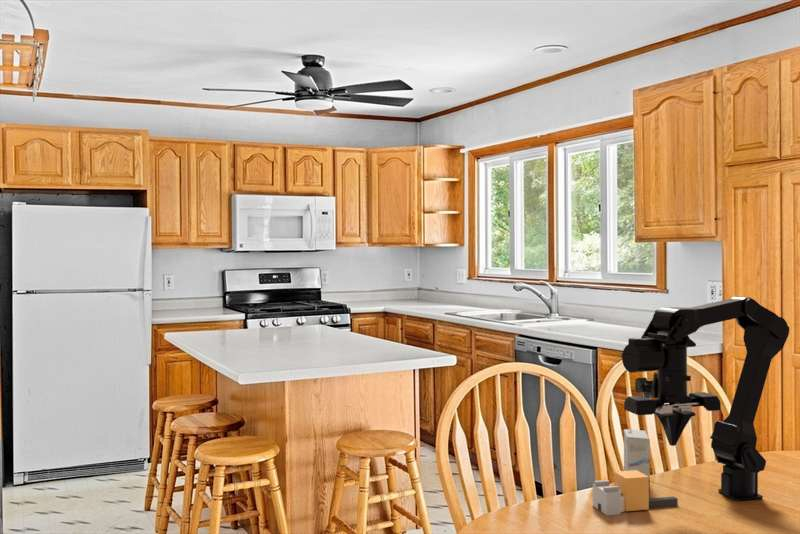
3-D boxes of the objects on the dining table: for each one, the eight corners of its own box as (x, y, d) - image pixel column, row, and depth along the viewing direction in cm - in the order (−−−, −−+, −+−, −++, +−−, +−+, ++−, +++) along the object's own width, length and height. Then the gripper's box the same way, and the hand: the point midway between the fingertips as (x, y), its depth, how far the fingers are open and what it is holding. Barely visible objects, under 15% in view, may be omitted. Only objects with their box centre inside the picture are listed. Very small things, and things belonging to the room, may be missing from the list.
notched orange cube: (636, 501, 159) (636, 470, 159) (648, 509, 154) (648, 476, 154) (614, 503, 158) (614, 471, 158) (625, 511, 153) (625, 478, 153)
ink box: (650, 492, 166) (650, 438, 165) (627, 491, 167) (627, 437, 166) (645, 481, 174) (646, 429, 174) (623, 479, 175) (623, 428, 175)
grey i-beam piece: (606, 504, 158) (606, 479, 158) (620, 514, 152) (620, 487, 152) (592, 505, 157) (592, 480, 157) (606, 515, 152) (606, 488, 151)
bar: (673, 503, 159) (673, 496, 159) (677, 505, 157) (677, 498, 157) (597, 509, 155) (597, 502, 155) (601, 511, 154) (601, 504, 154)
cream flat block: (615, 505, 157) (615, 491, 157) (624, 511, 154) (624, 496, 154) (611, 506, 157) (611, 491, 157) (619, 512, 153) (619, 497, 153)
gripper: (690, 361, 166) (690, 433, 167) (611, 365, 163) (611, 438, 163) (722, 369, 156) (722, 446, 156) (637, 373, 152) (638, 452, 152)
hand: (672, 445), depth 157 cm, fingers closed
